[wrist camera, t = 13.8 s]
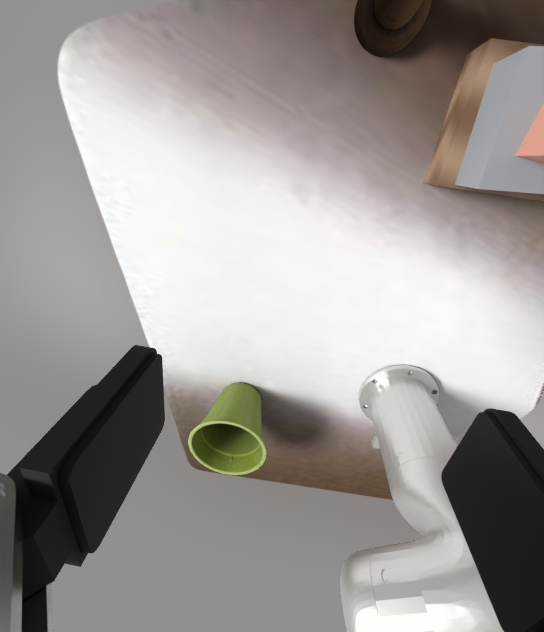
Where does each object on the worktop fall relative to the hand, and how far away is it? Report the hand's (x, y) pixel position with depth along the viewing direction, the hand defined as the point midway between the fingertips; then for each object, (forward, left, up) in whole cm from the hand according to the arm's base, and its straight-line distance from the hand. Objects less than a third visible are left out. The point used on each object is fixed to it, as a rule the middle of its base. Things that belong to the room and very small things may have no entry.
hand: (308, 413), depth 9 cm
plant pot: (-33, +6, -34) cm, 48 cm away
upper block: (+12, -19, -30) cm, 37 cm away
